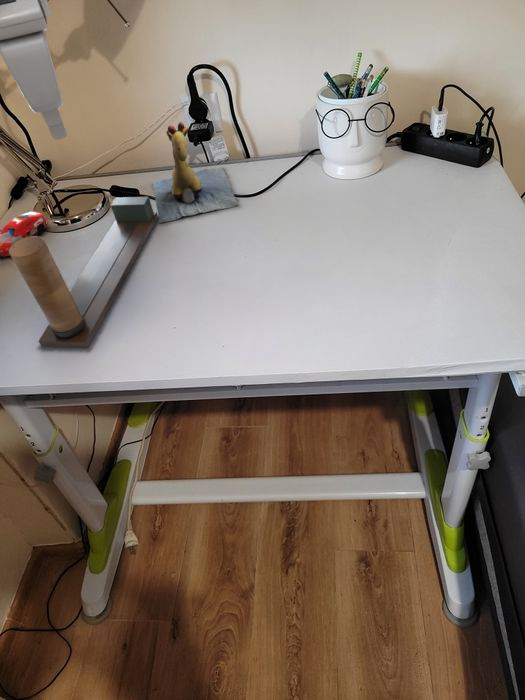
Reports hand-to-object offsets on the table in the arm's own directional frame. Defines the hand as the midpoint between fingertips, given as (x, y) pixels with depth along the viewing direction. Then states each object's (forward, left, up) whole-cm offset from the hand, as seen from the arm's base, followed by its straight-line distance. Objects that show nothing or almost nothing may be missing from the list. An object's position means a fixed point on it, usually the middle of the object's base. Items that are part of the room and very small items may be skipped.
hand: (56, 124), depth 69 cm
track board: (-1, +5, -28) cm, 28 cm away
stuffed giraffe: (+21, +23, -28) cm, 42 cm away
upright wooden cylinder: (-10, -8, -26) cm, 29 cm away
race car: (-15, +26, -28) cm, 41 cm away
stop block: (+7, +19, -28) cm, 34 cm away
